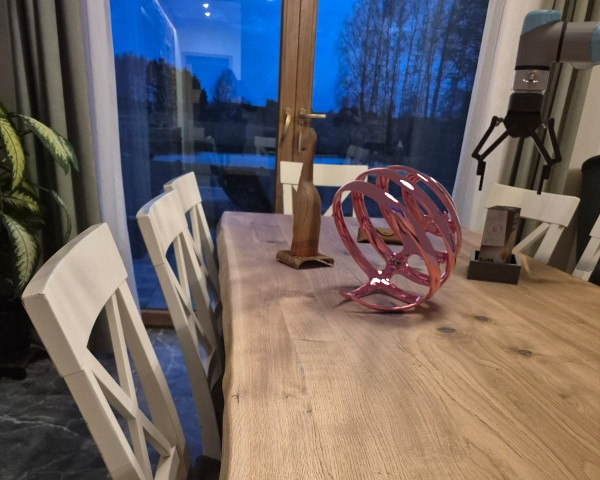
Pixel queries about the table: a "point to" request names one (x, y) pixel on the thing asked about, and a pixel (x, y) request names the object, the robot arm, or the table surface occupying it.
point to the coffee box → (499, 234)
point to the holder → (494, 269)
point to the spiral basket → (400, 234)
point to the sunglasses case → (384, 233)
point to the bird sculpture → (306, 213)
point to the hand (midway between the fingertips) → (508, 192)
